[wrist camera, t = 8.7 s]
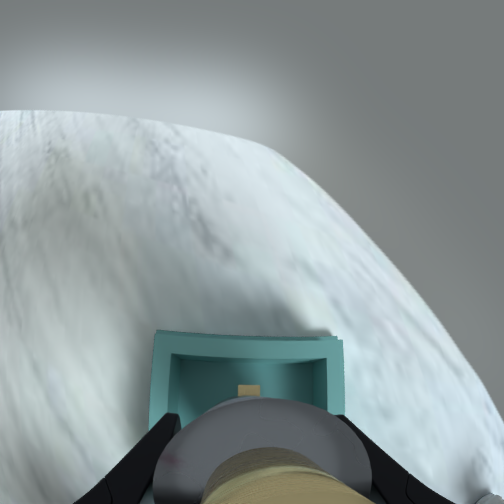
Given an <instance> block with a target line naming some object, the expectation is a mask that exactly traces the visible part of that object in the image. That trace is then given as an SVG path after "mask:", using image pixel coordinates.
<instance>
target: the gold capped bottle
mask: <svg viewBox="0 0 504 504" xmlns="http://www.w3.org/2000/svg"><path fill="white" fill-rule="evenodd" d="M371 484H372V472H371V465H370V461H369V457H368V454H367V451H366V450H365V448H364V446H363V444H362V442H361V440H360V439H359V438H358V436H357V435H356V434H355V432H354V431H353V430H352V429H351V428H350V427H349V426H348V425H347V424H346V423H344V422H343V421H342V420H340V419H339V418H338V417H336V416H334V415H333V414H331V413H329V412H327V411H326V410H323V409H321V408H318V407H316V406H314V405H310V404H307V403H303V402H299V401H293V400H287V399H279V398H269V397H261V396H260V385H238V396H233V397H229V398H227V399H224V400H222V401H221V402H219V403H217V404H216V405H215V406H213V407H212V408H210V409H209V410H208V411H206V412H205V413H203V414H202V415H200V416H199V417H198V418H196V419H195V420H193V421H192V422H190V423H189V424H187V425H186V426H185V427H184V428H183V429H181V430H180V431H179V432H178V433H177V434H176V435H175V436H174V437H173V438H172V440H171V441H170V442H169V443H168V444H167V446H166V447H165V449H164V451H163V452H162V454H161V455H160V458H159V460H158V463H157V465H156V468H155V472H154V477H153V497H154V503H155V504H375V503H374V502H372V501H370V500H369V496H370V491H371Z"/></svg>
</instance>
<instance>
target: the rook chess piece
mask: <svg viewBox="0 0 504 504" xmlns="http://www.w3.org/2000/svg"><path fill="white" fill-rule="evenodd" d="M476 504H504V500H502V497H500V496H499V495H494V494H492V493H491V494H487V495H486V496H484V497H482V498H481V499H480V500H478V501H477V502H476Z"/></svg>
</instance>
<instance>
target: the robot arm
mask: <svg viewBox="0 0 504 504" xmlns="http://www.w3.org/2000/svg"><path fill="white" fill-rule="evenodd" d="M334 416H336V417H338V418H339V419H340V420H342V421H343V422H344V423H346V424H347V425H348V426H349V427H350V428H351V429H352V430H353V431H354V432H355V434H356V435H357V436H358V438H359V439H360V440H361V442H362V444H363V446H364V448H365V450H366V451H367V454H368V457H369V461H370V465H371V472H372V484H371V491H370V496H369V500H370V501H372V502H374V503H375V504H455V503H453V502H451V501H450V500H448V499H446V498H444V497H443V496H441V495H439V494H438V493H436V492H434V491H433V490H431V489H430V488H428V487H427V486H425V485H424V484H423V483H421V482H420V481H419V480H418V479H416V478H415V477H414V476H413V475H411V474H409V472H408V471H406V470H405V469H404V468H403V467H402V466H401V465H399V464H398V463H397V462H396V461H395V460H393V459H392V458H391V457H390V456H389V455H388V454H387V453H385V452H384V451H383V450H382V449H381V448H380V447H379V446H377V445H376V444H375V443H374V442H373V441H372V440H371V439H370V438H368V437H367V436H366V435H365V434H364V433H363V432H362V431H361V430H360V429H359V428H357V427H356V426H355V425H354V424H353V423H352V422H351V421H350V420H349V419H348V418H347V417H346V416H344V415H343V414H338V415H334ZM181 429H182V427H181V422H180V416H179V414H177V413H170V412H167V413H165V414H164V415H163V416H162V417H161V419H160V420H159V421H158V422H157V423H156V424H155V425H154V426H153V427H152V428H151V429H150V430H149V431H148V432H147V434H146V435H145V436H144V437H143V438H142V439H141V440H140V441H139V442H138V443H137V444H136V445H135V446H134V447H133V448H132V449H131V450H130V451H129V452H128V453H127V454H126V455H125V456H124V458H123V459H122V460H121V461H120V462H119V463H118V464H117V465H116V466H115V467H114V468H113V469H112V470H111V471H110V472H109V473H108V474H107V475H106V476H105V478H102V479H101V480H100V481H99V482H98V483H97V484H96V485H95V486H94V487H93V488H92V489H91V490H90V491H89V492H88V493H86V494H85V495H84V496H82V497H81V498H80V499H78V500H77V501H76V502H74V503H73V504H155V503H154V497H153V477H154V472H155V468H156V465H157V463H158V460H159V458H160V455H161V454H162V452H163V451H164V449H165V447H166V446H167V444H168V443H169V442H170V441H171V440H172V438H173V437H174V436H175V435H176V434H177V433H178V432H179V431H180V430H181Z"/></svg>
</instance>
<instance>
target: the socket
mask: <svg viewBox="0 0 504 504" xmlns="http://www.w3.org/2000/svg"><path fill="white" fill-rule="evenodd" d="M238 385H260V396H261V397H269V398H279V399H287V400H293V401H299V402H303V403H307V404H310V405H314V406H316V407H318V408H321V409H323V410H326V411H327V412H329V413H331V414H333V415H338V414H343V415H344V416H345V387H344V356H343V340H338V339H337V336H324V337H262V336H233V335H214V334H199V333H186V332H174V331H164V330H157V331H156V334H155V339H154V349H153V360H152V372H151V386H150V404H149V430H150V429H151V428H152V427H153V426H154V425H155V424H156V423H157V422H158V421H159V420H160V419H161V417H162V416H163V415H164V414H165V413H167V412H170V413H177V414H179V416H180V422H181V427H182V429H183V428H184V427H185V426H186V425H187V424H189V423H190V422H192V421H193V420H195V419H196V418H198V417H199V416H200V415H202V414H203V413H205V412H206V411H208V410H209V409H210V408H212V407H213V406H215V405H216V404H217V403H219V402H221V401H222V400H224V399H227V398H229V397H233V396H238Z"/></svg>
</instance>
